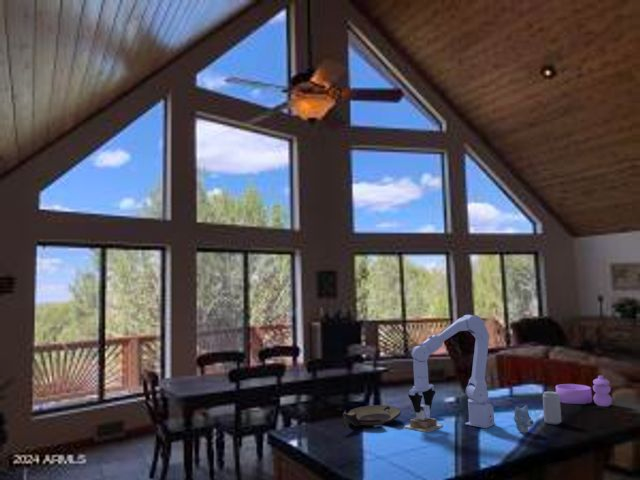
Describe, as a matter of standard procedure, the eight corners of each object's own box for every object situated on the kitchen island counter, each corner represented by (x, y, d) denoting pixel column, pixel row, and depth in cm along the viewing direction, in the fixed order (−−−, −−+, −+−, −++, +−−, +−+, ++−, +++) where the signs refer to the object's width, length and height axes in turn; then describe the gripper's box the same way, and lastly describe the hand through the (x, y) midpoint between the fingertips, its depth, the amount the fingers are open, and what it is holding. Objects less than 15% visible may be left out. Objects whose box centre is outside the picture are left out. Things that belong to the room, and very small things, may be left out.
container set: (550, 400, 255) (548, 372, 256) (567, 396, 263) (565, 369, 265) (602, 409, 234) (600, 379, 236) (619, 404, 243) (617, 374, 244)
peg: (430, 425, 215) (429, 405, 215) (424, 427, 212) (423, 407, 212) (421, 423, 217) (421, 403, 218) (416, 425, 215) (415, 405, 215)
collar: (442, 426, 214) (442, 418, 215) (427, 432, 207) (427, 424, 207) (419, 422, 222) (419, 414, 222) (404, 427, 214) (403, 420, 215)
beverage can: (543, 424, 213) (541, 393, 214) (545, 420, 219) (543, 390, 220) (560, 425, 210) (558, 394, 212) (562, 421, 216) (559, 391, 217)
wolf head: (526, 437, 196) (524, 409, 197) (511, 431, 205) (509, 404, 206) (540, 435, 198) (538, 408, 199) (525, 429, 206) (523, 403, 207)
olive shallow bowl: (413, 425, 218) (412, 406, 219) (348, 435, 206) (347, 415, 207) (385, 414, 239) (384, 396, 239) (324, 423, 227) (324, 404, 227)
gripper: (422, 372, 224) (424, 405, 223) (402, 377, 214) (404, 412, 213) (437, 374, 219) (439, 408, 218) (417, 379, 209) (419, 415, 208)
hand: (422, 410), depth 215 cm, fingers open, 7 cm apart
